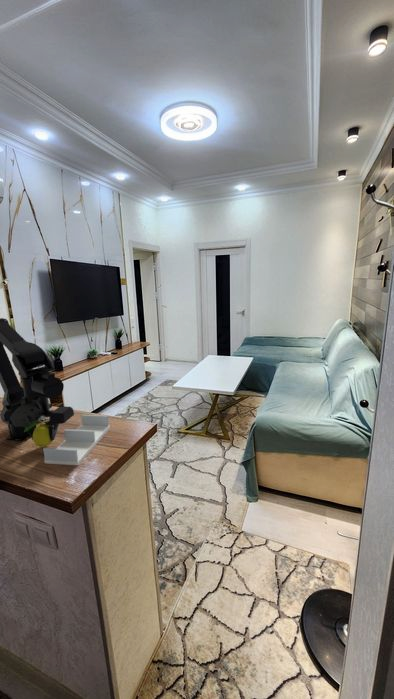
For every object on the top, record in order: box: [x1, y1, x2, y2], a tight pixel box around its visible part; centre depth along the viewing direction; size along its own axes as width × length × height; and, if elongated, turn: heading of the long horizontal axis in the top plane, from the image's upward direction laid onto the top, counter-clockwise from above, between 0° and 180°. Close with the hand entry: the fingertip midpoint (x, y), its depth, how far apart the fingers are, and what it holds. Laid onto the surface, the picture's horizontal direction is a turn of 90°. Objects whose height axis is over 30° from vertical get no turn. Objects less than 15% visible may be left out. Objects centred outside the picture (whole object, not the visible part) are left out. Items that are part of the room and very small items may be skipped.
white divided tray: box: [43, 414, 111, 466], centre depth 89 cm, size 10×21×4 cm, turn 172°
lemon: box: [24, 417, 53, 448], centre depth 87 cm, size 7×6×10 cm
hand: (43, 439), depth 87 cm, fingers closed on lemon, 5 cm apart
